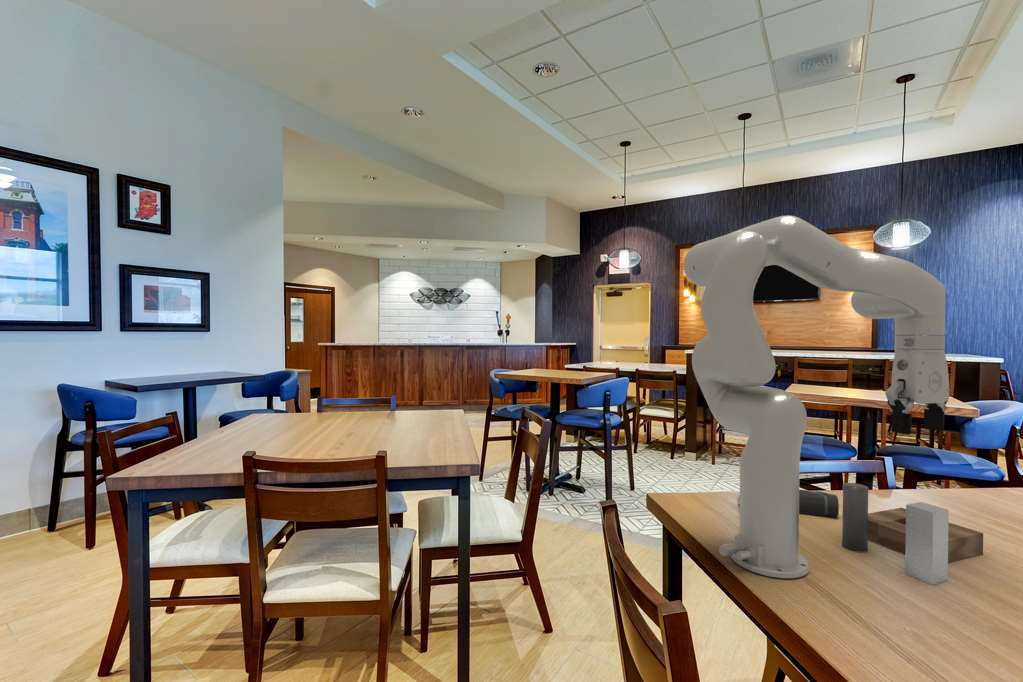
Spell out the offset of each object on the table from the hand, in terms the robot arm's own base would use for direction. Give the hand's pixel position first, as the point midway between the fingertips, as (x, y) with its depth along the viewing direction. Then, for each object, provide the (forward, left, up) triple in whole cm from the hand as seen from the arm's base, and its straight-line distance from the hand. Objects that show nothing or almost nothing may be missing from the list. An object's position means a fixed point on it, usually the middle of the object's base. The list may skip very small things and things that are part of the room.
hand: (917, 431), depth 94 cm
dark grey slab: (-10, +21, -23) cm, 32 cm away
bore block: (0, 0, -22) cm, 22 cm away
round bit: (-13, +3, -22) cm, 26 cm away
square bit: (-13, -9, -22) cm, 27 cm away
